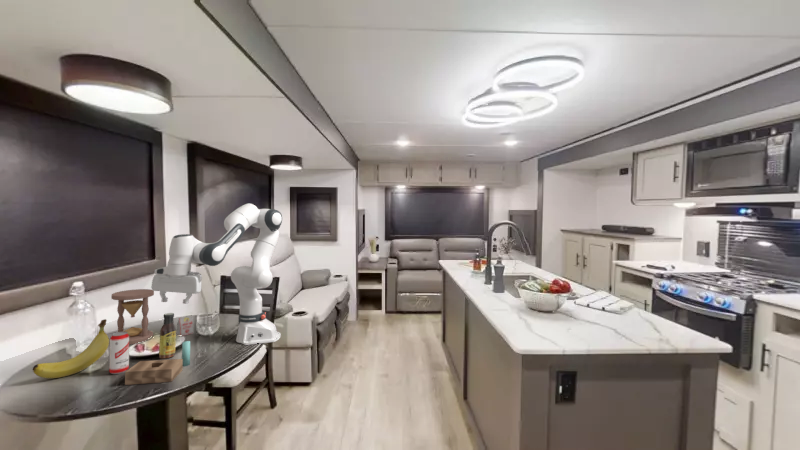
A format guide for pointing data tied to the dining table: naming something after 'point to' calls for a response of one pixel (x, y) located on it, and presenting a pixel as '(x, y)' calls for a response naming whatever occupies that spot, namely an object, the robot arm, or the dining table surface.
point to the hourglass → (134, 312)
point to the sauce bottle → (167, 337)
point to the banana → (76, 358)
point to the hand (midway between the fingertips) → (174, 302)
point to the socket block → (154, 371)
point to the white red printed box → (185, 325)
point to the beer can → (119, 353)
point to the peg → (186, 353)
